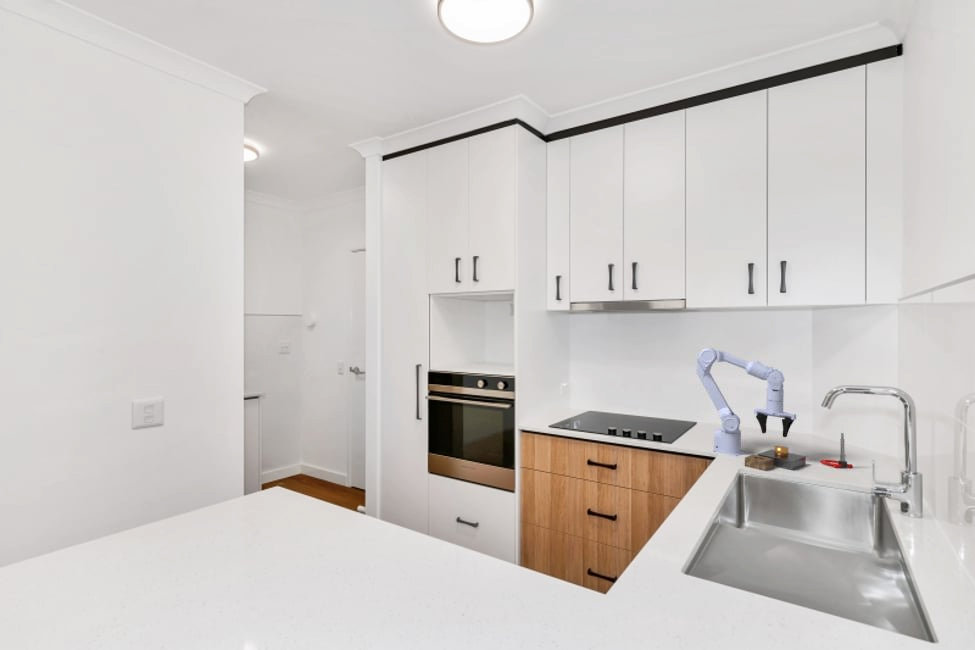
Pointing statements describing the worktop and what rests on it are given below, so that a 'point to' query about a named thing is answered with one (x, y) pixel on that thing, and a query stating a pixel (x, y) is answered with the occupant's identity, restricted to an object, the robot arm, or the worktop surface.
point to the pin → (781, 451)
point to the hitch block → (785, 460)
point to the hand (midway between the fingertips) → (774, 434)
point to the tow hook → (842, 462)
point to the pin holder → (759, 462)
